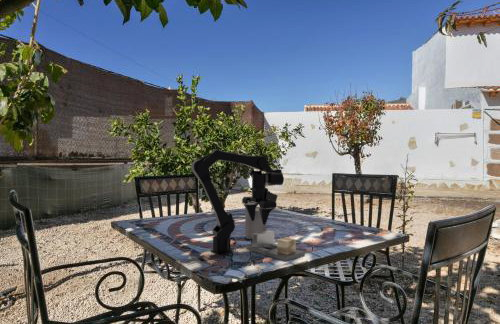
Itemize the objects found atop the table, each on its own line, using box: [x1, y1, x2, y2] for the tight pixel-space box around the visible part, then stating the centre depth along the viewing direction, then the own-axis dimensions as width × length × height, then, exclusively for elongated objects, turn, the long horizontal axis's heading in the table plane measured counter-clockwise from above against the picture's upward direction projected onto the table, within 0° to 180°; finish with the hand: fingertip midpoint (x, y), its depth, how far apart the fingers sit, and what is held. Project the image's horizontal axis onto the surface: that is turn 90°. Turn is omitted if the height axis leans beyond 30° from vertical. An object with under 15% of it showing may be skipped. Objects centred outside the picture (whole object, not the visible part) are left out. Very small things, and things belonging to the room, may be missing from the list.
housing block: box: [276, 236, 297, 255], centre depth 140 cm, size 5×5×5 cm
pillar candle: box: [244, 206, 267, 240], centre depth 171 cm, size 10×10×15 cm
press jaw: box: [251, 230, 275, 248], centre depth 149 cm, size 10×3×5 cm, turn 131°
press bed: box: [245, 243, 306, 262], centre depth 145 cm, size 11×22×2 cm, turn 42°
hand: (258, 222), depth 151 cm, fingers open, 9 cm apart
